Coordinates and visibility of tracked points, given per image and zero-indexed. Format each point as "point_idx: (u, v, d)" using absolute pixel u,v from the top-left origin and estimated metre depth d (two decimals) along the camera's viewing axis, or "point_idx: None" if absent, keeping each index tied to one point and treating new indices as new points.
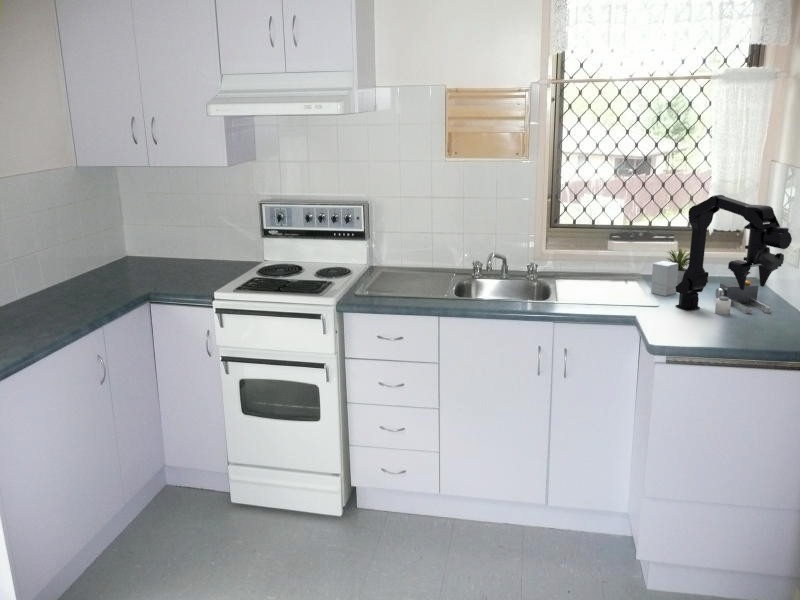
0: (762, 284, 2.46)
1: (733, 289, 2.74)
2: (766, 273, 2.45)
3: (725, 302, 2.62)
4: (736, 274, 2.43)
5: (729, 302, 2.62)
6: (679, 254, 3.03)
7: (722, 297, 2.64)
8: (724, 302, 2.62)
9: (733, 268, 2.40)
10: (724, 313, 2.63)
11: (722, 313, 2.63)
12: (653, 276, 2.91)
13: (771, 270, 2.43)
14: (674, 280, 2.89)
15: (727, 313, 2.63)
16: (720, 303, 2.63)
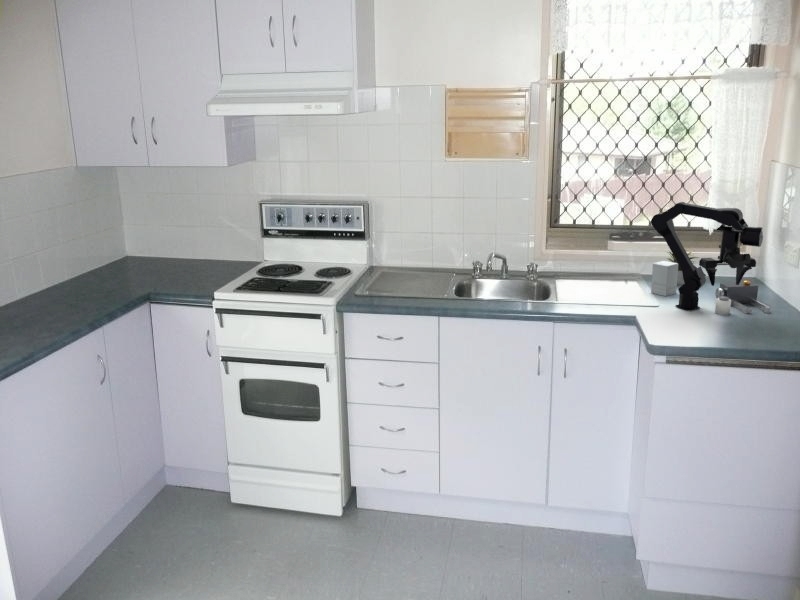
0: (737, 283, 2.62)
1: (733, 289, 2.74)
2: (740, 272, 2.60)
3: (725, 302, 2.62)
4: (707, 271, 2.62)
5: (729, 302, 2.62)
6: None
7: (722, 297, 2.64)
8: (724, 302, 2.62)
9: (701, 264, 2.60)
10: (724, 313, 2.63)
11: (722, 313, 2.63)
12: (653, 276, 2.91)
13: (744, 270, 2.59)
14: (674, 280, 2.89)
15: (727, 313, 2.63)
16: (720, 303, 2.62)
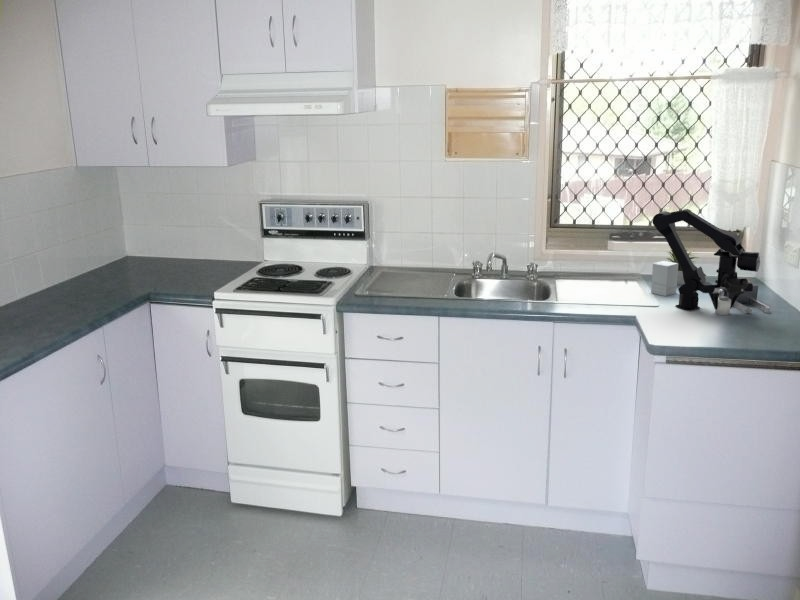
0: None
1: None
2: (733, 297, 2.63)
3: (725, 302, 2.62)
4: (710, 294, 2.65)
5: (729, 302, 2.62)
6: None
7: (722, 297, 2.64)
8: (724, 302, 2.62)
9: (699, 289, 2.62)
10: (724, 313, 2.63)
11: (722, 313, 2.63)
12: (653, 276, 2.91)
13: (736, 294, 2.61)
14: (674, 280, 2.89)
15: (727, 313, 2.63)
16: (720, 303, 2.62)
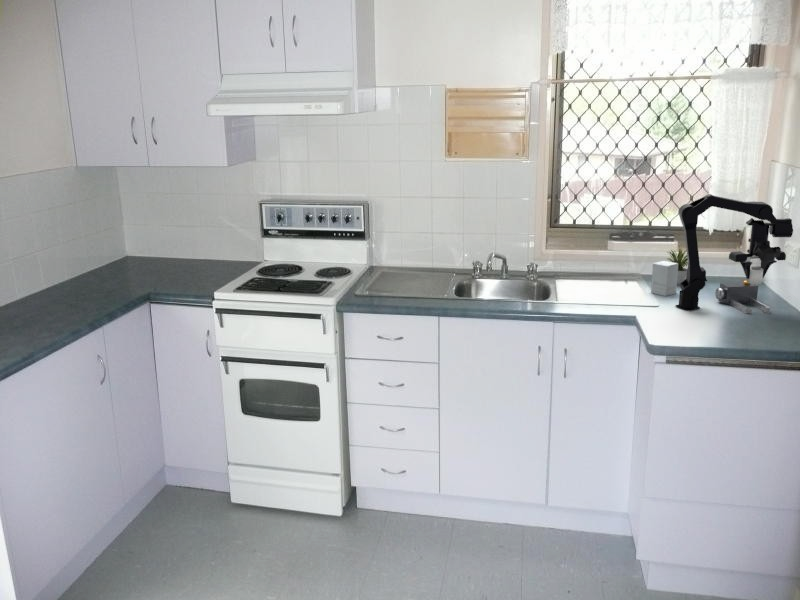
0: None
1: (733, 289, 2.74)
2: (765, 266, 2.63)
3: (758, 271, 2.61)
4: (742, 264, 2.65)
5: (761, 271, 2.62)
6: (679, 254, 3.03)
7: (754, 266, 2.64)
8: (757, 271, 2.61)
9: (731, 258, 2.63)
10: (756, 282, 2.63)
11: (754, 282, 2.63)
12: (653, 276, 2.91)
13: (769, 263, 2.61)
14: (674, 280, 2.89)
15: (759, 282, 2.63)
16: (752, 272, 2.62)
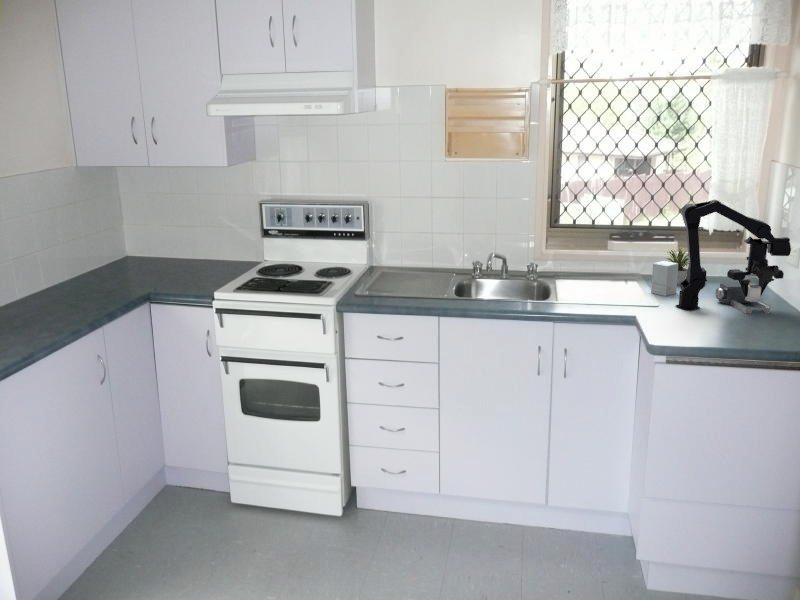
0: None
1: (733, 289, 2.74)
2: (763, 284, 2.65)
3: (755, 289, 2.64)
4: (740, 282, 2.67)
5: (759, 289, 2.64)
6: (679, 254, 3.03)
7: (752, 284, 2.66)
8: (755, 289, 2.64)
9: (730, 276, 2.65)
10: (754, 300, 2.65)
11: (752, 300, 2.65)
12: (653, 276, 2.91)
13: (766, 281, 2.63)
14: (674, 280, 2.89)
15: (757, 300, 2.65)
16: (750, 290, 2.64)
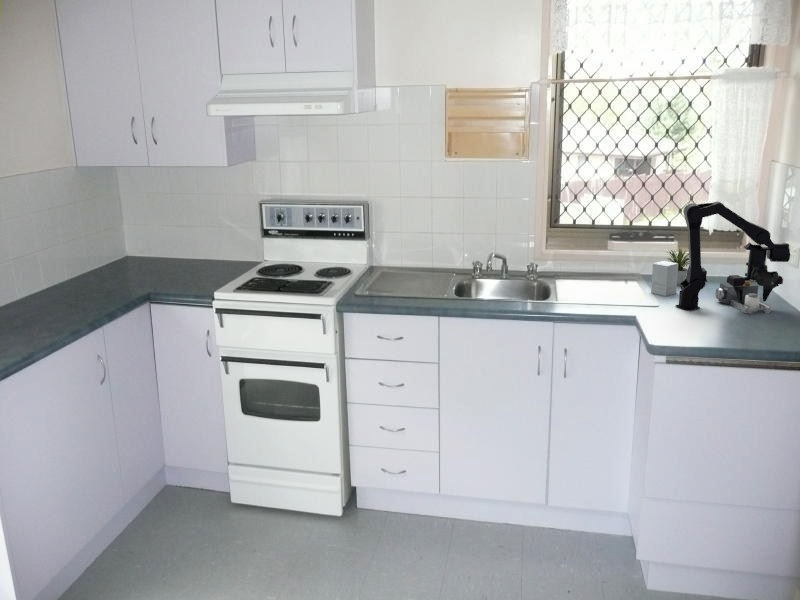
0: (764, 299, 2.67)
1: (733, 289, 2.74)
2: (767, 289, 2.66)
3: (754, 299, 2.65)
4: (735, 288, 2.67)
5: (758, 299, 2.65)
6: (679, 254, 3.03)
7: (751, 294, 2.67)
8: (754, 298, 2.65)
9: (729, 282, 2.65)
10: (753, 310, 2.66)
11: None
12: (653, 276, 2.91)
13: (771, 287, 2.64)
14: (674, 280, 2.89)
15: (756, 310, 2.66)
16: (749, 300, 2.65)
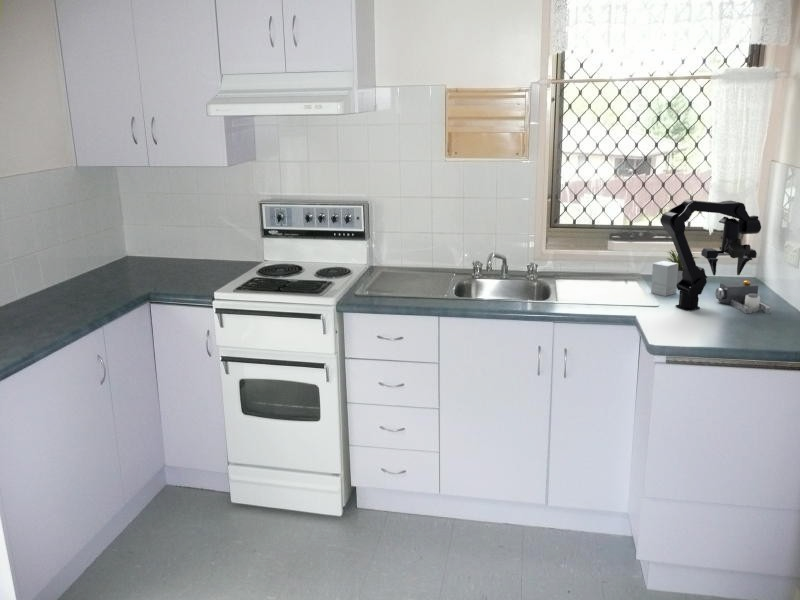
0: (738, 273, 2.72)
1: (733, 289, 2.74)
2: (741, 263, 2.70)
3: (754, 299, 2.65)
4: (709, 261, 2.72)
5: (758, 299, 2.65)
6: None
7: (751, 294, 2.67)
8: (754, 298, 2.65)
9: (703, 254, 2.70)
10: (753, 310, 2.66)
11: None
12: (653, 276, 2.91)
13: (744, 260, 2.68)
14: (674, 280, 2.89)
15: (756, 310, 2.66)
16: (749, 300, 2.65)
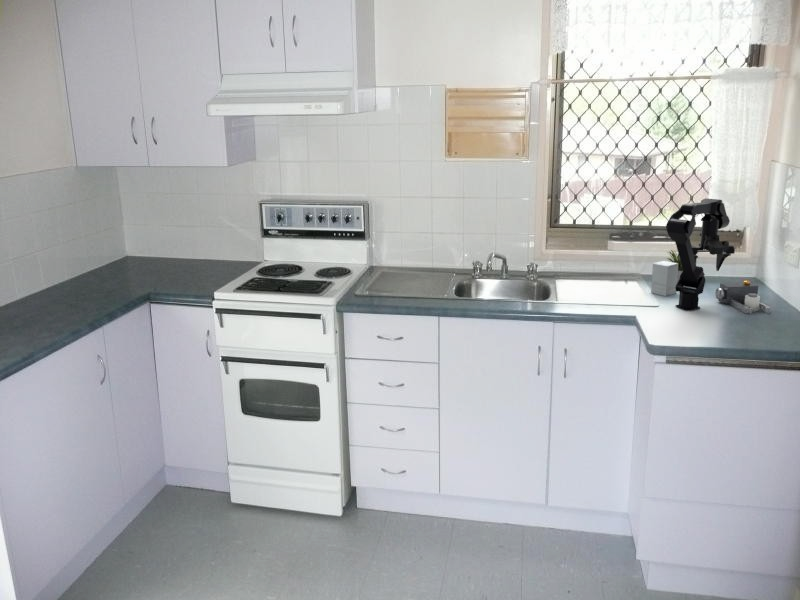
0: (717, 269, 2.77)
1: (733, 289, 2.74)
2: (720, 259, 2.75)
3: (754, 298, 2.65)
4: None
5: (758, 298, 2.65)
6: None
7: (751, 294, 2.67)
8: (754, 298, 2.65)
9: None
10: (753, 309, 2.66)
11: None
12: (653, 276, 2.91)
13: (723, 256, 2.74)
14: (674, 280, 2.89)
15: (756, 309, 2.66)
16: (749, 300, 2.66)
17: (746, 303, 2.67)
